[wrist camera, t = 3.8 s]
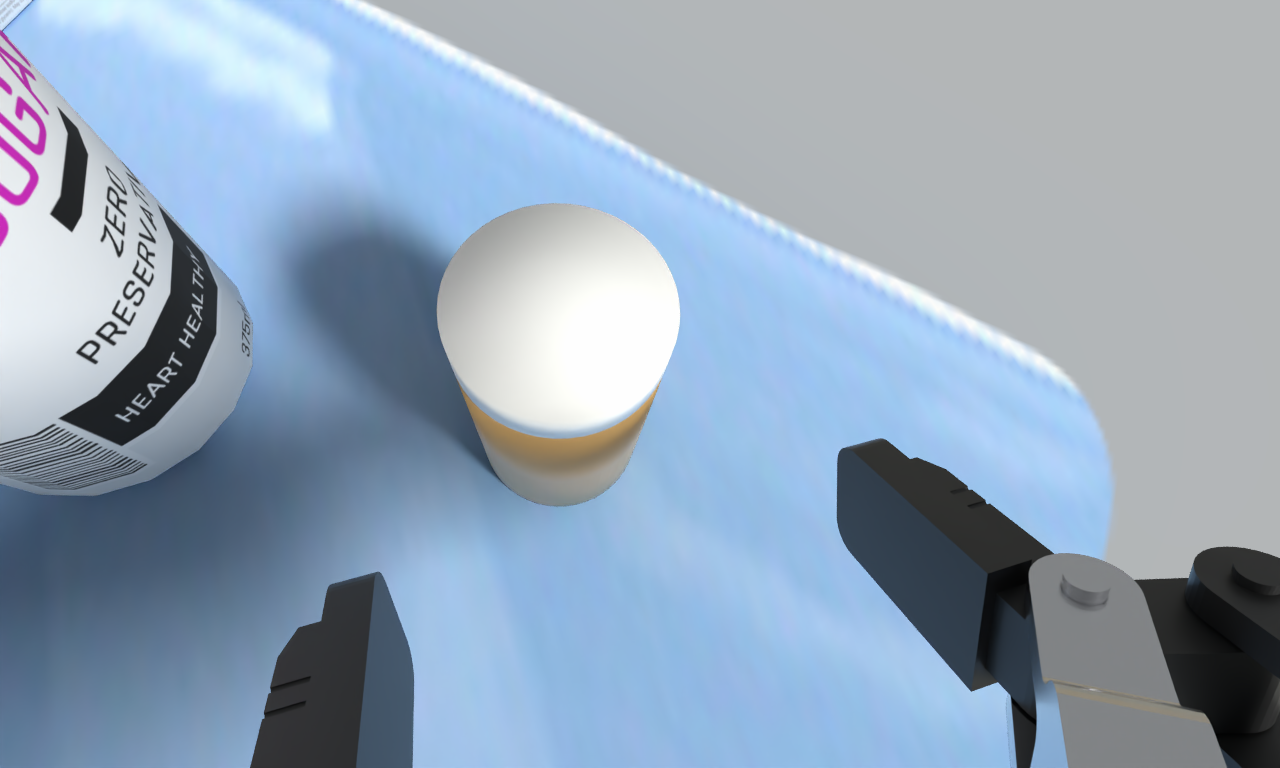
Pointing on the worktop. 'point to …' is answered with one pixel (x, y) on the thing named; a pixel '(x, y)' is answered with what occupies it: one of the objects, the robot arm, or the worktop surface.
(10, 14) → the supplement box
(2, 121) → the supplement can
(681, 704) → the worktop surface
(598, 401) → the pill bottle
